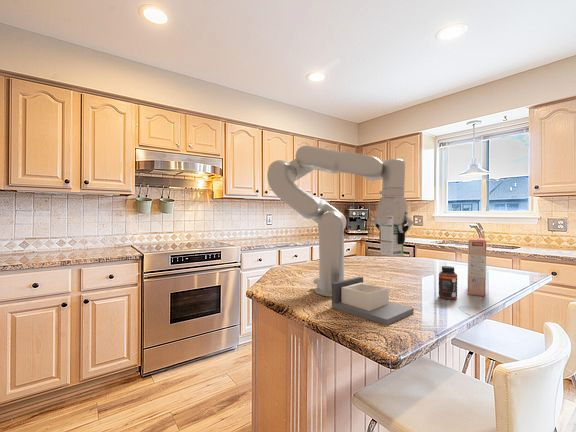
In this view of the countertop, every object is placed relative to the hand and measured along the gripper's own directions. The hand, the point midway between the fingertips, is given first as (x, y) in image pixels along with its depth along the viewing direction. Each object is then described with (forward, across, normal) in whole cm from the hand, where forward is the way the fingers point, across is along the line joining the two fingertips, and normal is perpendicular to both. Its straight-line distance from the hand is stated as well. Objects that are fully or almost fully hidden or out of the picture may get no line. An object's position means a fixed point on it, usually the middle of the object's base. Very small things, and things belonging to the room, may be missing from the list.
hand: (391, 242), depth 108 cm
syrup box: (+5, 0, 0) cm, 5 cm away
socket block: (+19, +1, -18) cm, 26 cm away
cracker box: (+20, +18, +32) cm, 42 cm away
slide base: (+20, +4, -18) cm, 27 cm away
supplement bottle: (+20, +14, +16) cm, 29 cm away
